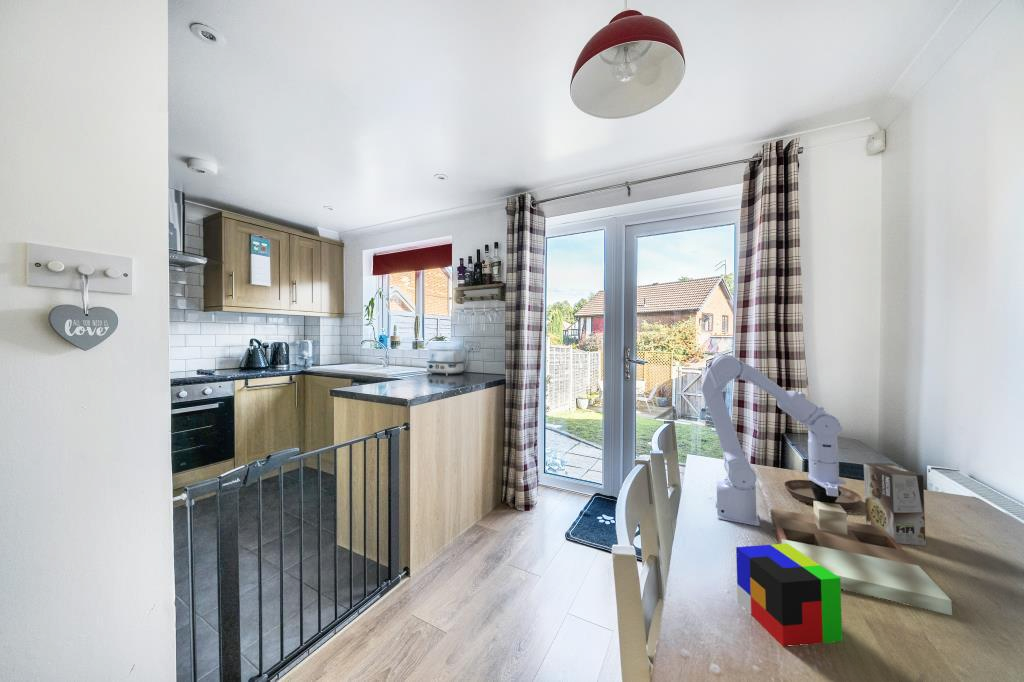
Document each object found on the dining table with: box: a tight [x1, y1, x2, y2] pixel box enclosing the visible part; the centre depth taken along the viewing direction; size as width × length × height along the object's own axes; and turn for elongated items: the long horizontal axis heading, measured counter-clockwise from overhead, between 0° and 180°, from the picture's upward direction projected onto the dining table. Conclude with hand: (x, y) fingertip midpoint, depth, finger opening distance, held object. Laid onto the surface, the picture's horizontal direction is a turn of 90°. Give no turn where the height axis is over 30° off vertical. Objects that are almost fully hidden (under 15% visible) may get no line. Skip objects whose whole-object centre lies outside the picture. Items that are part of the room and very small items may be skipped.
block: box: [813, 501, 848, 535], centre depth 86 cm, size 5×5×5 cm
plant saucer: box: [783, 479, 863, 510], centre depth 108 cm, size 18×18×3 cm
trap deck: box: [769, 508, 953, 616], centre depth 79 cm, size 22×28×2 cm
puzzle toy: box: [735, 543, 843, 648], centre depth 61 cm, size 10×10×10 cm
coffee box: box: [863, 462, 927, 546], centre depth 88 cm, size 9×6×16 cm
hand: (824, 514), depth 90 cm, fingers closed
